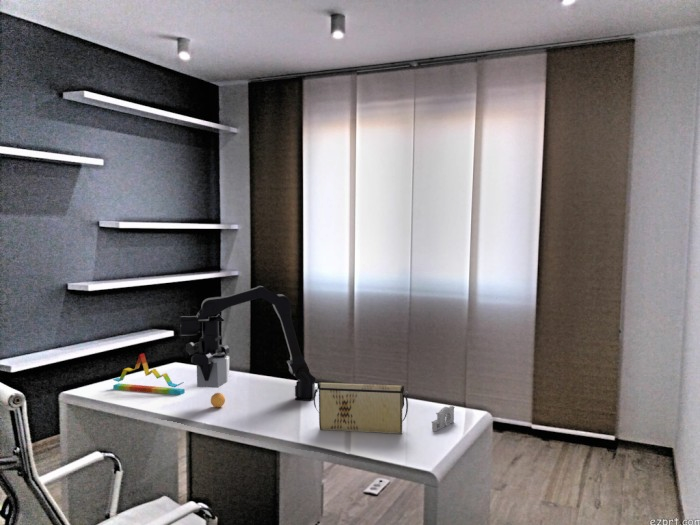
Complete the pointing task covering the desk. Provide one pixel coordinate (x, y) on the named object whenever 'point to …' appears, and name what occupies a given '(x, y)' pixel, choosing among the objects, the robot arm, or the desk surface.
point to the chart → (148, 388)
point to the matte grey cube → (214, 374)
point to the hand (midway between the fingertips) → (211, 377)
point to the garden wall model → (443, 418)
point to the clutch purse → (361, 407)
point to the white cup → (227, 366)
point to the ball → (217, 400)
